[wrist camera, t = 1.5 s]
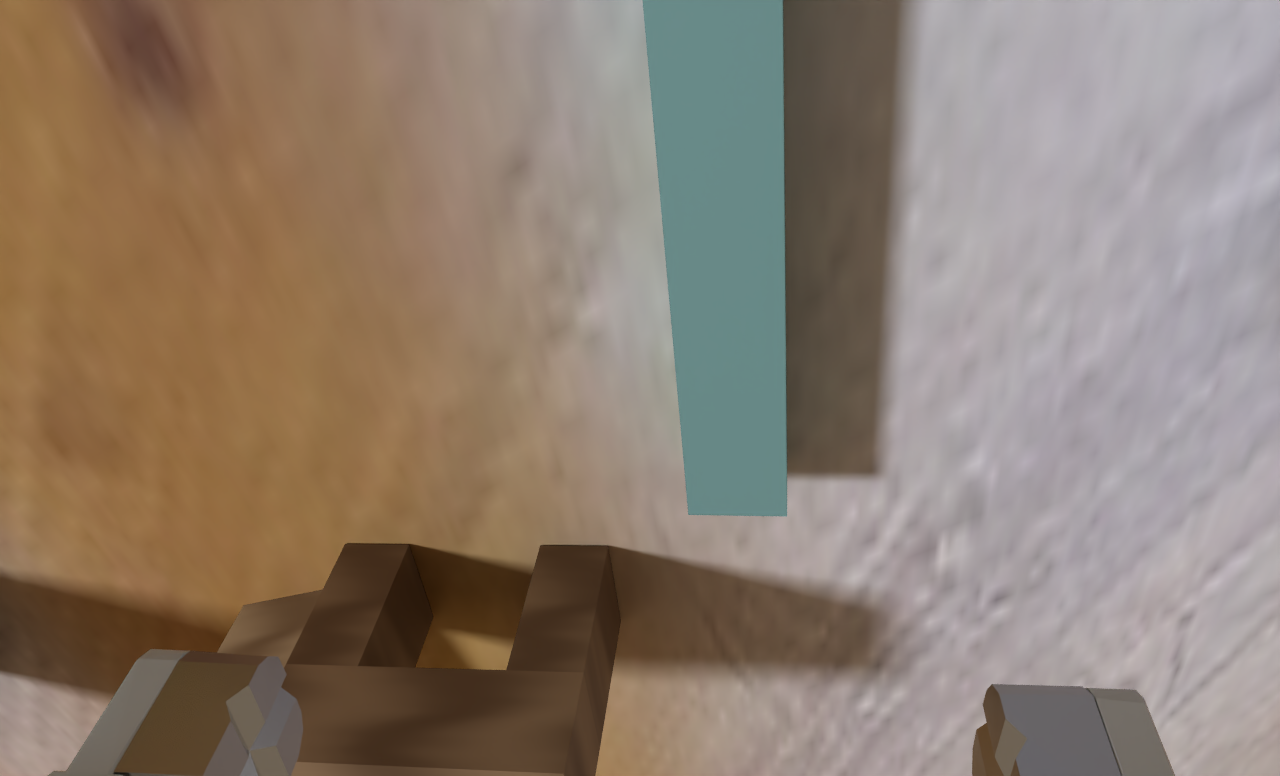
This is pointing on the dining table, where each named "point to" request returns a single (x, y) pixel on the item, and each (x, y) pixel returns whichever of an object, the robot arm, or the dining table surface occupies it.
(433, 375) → the dining table surface
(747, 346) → the teal square bar
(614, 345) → the dining table surface
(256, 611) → the bead cube
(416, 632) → the wooden u-shaped block
